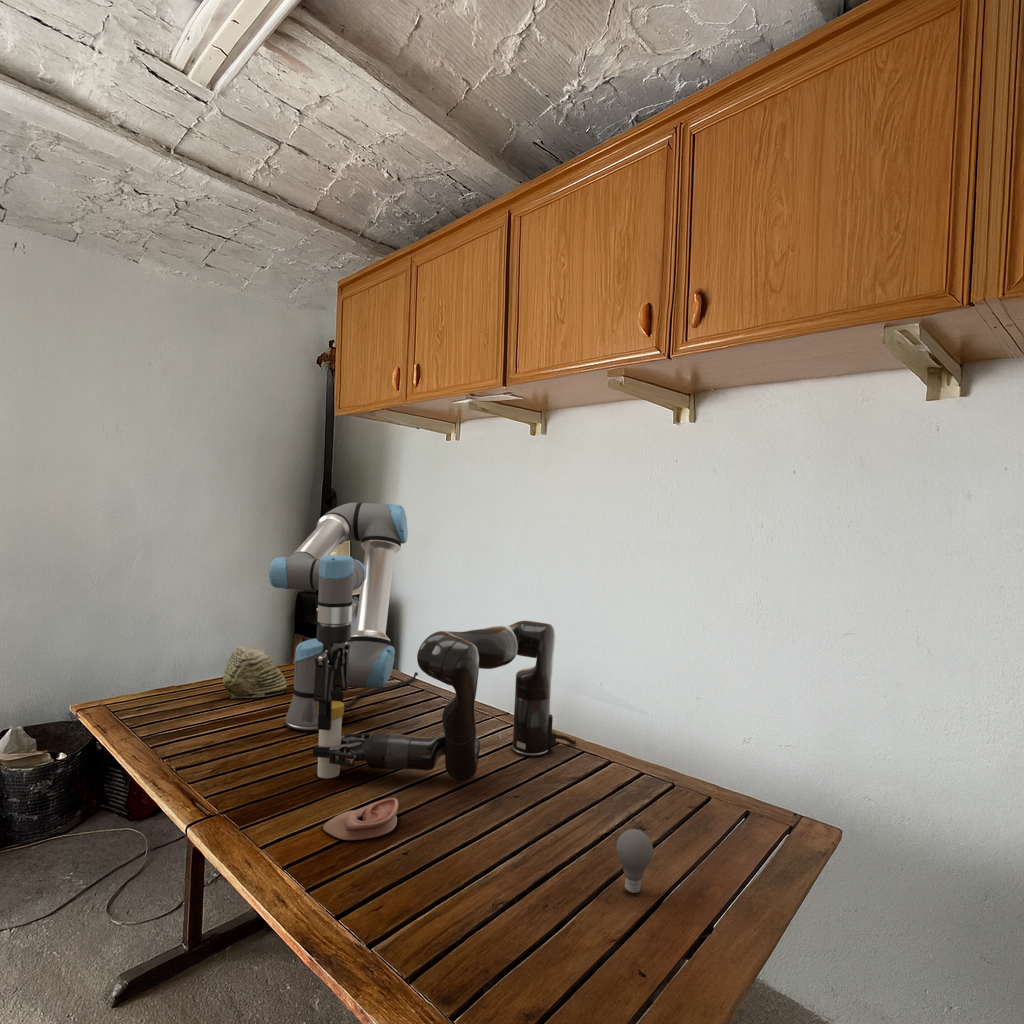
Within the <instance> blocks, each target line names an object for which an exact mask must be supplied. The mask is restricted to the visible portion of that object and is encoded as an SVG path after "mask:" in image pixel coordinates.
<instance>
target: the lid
mask: <svg viewBox="0 0 1024 1024" xmlns="http://www.w3.org/2000/svg"><path fill="white" fill-rule="evenodd" d="M344 705H345V703H344V701H343V702H340V701H332V708H331V719H332V718H338V717H341V716H343V717H344V715H345V708H344ZM318 712H319V705H318Z"/></svg>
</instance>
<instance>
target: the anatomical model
mask: <svg viewBox="0 0 1024 1024" xmlns="http://www.w3.org/2000/svg"><path fill="white" fill-rule="evenodd" d="M398 809H399V801H398V799H397V798H396V797H389V798H388V797H387V798H383V799H381V800H378V801H375V802H372V803H369V804H367V805H365V806H363V807H360V808H357V809H353V810H352V809H351V810H348V811H344V812H341V813H340V814H337V815H336V816H333V818H330V819H329V820H328V821H327V822H325V823H324V824H323V826H322V830H323V831H324V832H325V833H326V834H329V835H330V836H332V837H334V838H337V839H339V840H342V841H358V840H359V841H360V840H366V839H373V838H377V837H380V836H383V835H386V834H388V833H390V832H392V831H393V830H394V829H395V828H396V826H397V824H398V817H397V813H398Z"/></svg>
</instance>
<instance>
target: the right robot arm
mask: <svg viewBox="0 0 1024 1024" xmlns="http://www.w3.org/2000/svg"><path fill="white" fill-rule="evenodd" d="M556 641H557V639H556V630H555V626H553V624H551V623H549V622H543V621H542V622H541V621H534V620H519V621H517V622H514V623H512V624H509V625H496V626H488V627H484V628H478V629H477V628H476V629H471V630H464V631H454V630H453V631H451V630H438V631H435V632H433V633H431V634H430V635H428V636H427V637H426V638H425V639H424V640H423V641H422V643H421V645H420V646H419V648H418V650H417V655H416V661H417V665H418V668H419V669H420V670H421V671H422V672H423V673H424V674H426V675H427V676H428V677H430V678H433V679H434V680H437V681H439V682H441V683H443V684H445V685H447V686H451V687H452V688H453V689H454V692H455V694H454V696H453V697H451V699H450V700H449V701H448V702H447V703H446V705H445V706H444V708H443V711H442V717H441V718H442V719H441V721H442V727H443V728H442V729H443V734H439V735H436V736H431V737H429V736H428V737H427V736H412V735H408V734H399V733H386V732H385V733H384V732H383V733H382V732H373V733H372V735H371V733H369V732H365V733H362V732H361V733H344V734H343V735H341V746H340V747H331V748H330V747H322V746H318V745H315V746H314V747H313V749H312V756H313V757H314V758H318V757H322V758H329V763H331V764H337V765H340V766H343V767H348V768H353V767H355V762H361V761H362V762H364V761H366V763H367V766H368V767H369V768H370V769H380V770H396V771H400V770H401V771H403V770H414V771H415V770H416V771H432V770H434V768H435V767H436V765H437V763H438V760H440V758H441V757H443V756H444V765H445V766H444V767H445V771H446V773H447V775H448V776H449V777H450V778H451V779H452V780H454V781H456V782H461V783H464V782H467V781H470V780H471V779H473V777H474V776H475V775H476V773H477V770H478V765H479V758H480V750H481V749H480V748H481V742H480V739H479V738H478V736H477V725H476V716H475V713H476V712H475V706H476V697H477V691H478V682H479V681H478V680H479V673H480V670H481V669H482V670H493V669H497V668H501V667H504V666H507V665H509V664H510V663H512V662H513V661H514V660H515V658H516V657H517V656H519V657H524V658H525V657H526V658H530V659H535V664H534V666H531V667H525V668H522V669H520V670H518V671H517V672H516V674H515V683H514V684H515V686H514V690H515V691H514V709H513V731H512V745H511V749H512V751H513V752H514V753H515V754H517V755H520V756H524V757H530V758H531V757H533V758H534V757H541V756H545V755H546V754H549V753H551V752H552V747H553V746H557V739H558V740H563V741H566V742H568V743H569V744H572V745H576V744H577V741H576V740H574V739H572V738H570V737H568V736H565V735H561V734H557V732H555V731H554V730H553V721H554V719H553V718H554V716H553V714H552V713H551V696H552V695H551V693H552V692H551V691H552V679H553V678H552V677H553V673H554V672H553V670H554V661H555V660H554V659H555V649H556ZM339 751H340V752H339ZM335 755H336V756H335Z"/></svg>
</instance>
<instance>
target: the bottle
mask: <svg viewBox="0 0 1024 1024" xmlns="http://www.w3.org/2000/svg"><path fill="white" fill-rule="evenodd" d="M342 723H343V722H342V716H341V717H338V718H332V719H331V729H330V730H320V729H319V731H318V745H317V746H322V747H330V748H331V747H340V746H341V736H342V727H343V725H342ZM339 752H340V751H339ZM335 756H336V755H335ZM340 773H341V765H337V764H331V763H329V758H322V757H317V773H316V775H317V777H319V778H320V779H332V778H333V779H334V778H336V777H339V775H340Z"/></svg>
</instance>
